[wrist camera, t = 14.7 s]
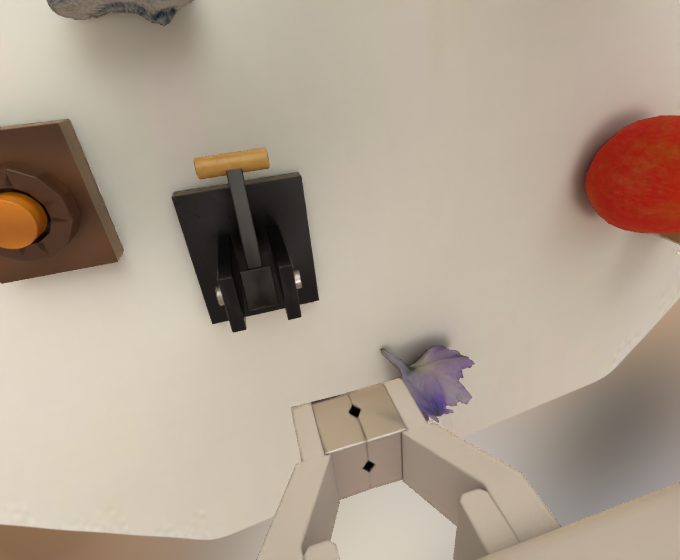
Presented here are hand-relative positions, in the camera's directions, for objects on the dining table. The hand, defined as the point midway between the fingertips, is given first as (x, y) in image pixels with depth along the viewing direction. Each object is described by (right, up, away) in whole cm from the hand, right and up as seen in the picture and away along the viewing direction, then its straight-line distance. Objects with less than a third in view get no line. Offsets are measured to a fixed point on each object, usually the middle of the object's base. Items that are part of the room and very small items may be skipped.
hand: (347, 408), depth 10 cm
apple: (+29, +15, +30) cm, 44 cm away
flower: (+8, -6, +36) cm, 37 cm away
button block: (-22, +9, +18) cm, 30 cm away
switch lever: (-7, +7, +19) cm, 21 cm away
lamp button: (-21, +8, +15) cm, 27 cm away
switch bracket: (-8, +6, +24) cm, 26 cm away
